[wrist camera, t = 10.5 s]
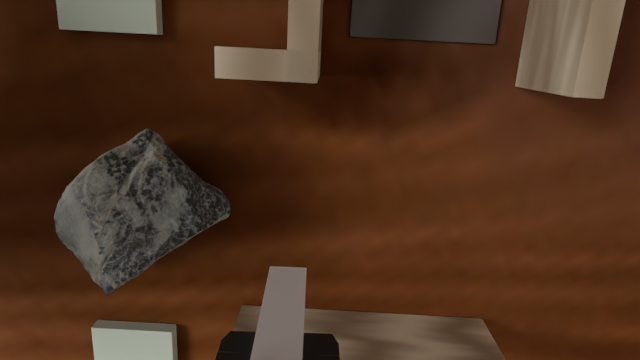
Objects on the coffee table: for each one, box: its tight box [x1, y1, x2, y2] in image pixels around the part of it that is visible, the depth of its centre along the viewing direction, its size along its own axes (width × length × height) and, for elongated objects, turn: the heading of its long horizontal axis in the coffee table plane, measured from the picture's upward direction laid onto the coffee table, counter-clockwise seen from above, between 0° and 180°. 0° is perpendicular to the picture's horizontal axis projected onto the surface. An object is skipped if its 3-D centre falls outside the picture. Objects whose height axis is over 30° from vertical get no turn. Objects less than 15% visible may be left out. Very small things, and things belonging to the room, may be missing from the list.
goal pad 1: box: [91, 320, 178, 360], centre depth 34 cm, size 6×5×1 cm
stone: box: [54, 128, 231, 295], centre depth 28 cm, size 10×10×10 cm
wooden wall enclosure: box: [214, 0, 626, 360], centre depth 26 cm, size 19×32×7 cm, turn 177°
